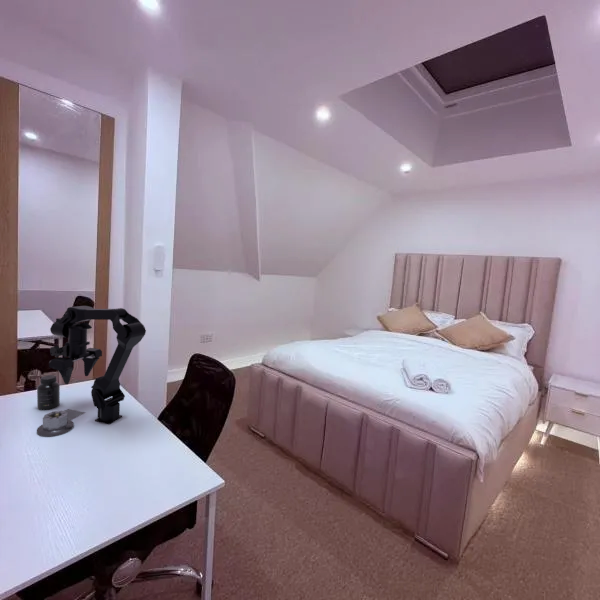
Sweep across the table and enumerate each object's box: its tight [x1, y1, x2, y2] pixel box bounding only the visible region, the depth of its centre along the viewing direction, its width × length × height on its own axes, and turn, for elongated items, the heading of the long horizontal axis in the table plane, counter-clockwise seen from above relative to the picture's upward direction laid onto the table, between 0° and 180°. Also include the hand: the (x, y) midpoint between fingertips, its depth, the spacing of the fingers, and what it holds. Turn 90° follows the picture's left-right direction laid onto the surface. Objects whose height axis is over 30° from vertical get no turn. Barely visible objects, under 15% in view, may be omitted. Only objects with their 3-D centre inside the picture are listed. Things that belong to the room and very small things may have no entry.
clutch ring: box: [42, 410, 68, 432], centre depth 110 cm, size 6×6×4 cm
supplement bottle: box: [36, 374, 61, 411], centre depth 124 cm, size 7×7×12 cm
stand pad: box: [64, 408, 87, 421], centre depth 120 cm, size 8×8×1 cm
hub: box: [36, 417, 75, 438], centre depth 110 cm, size 10×10×4 cm
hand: (76, 379), depth 123 cm, fingers open, 9 cm apart
